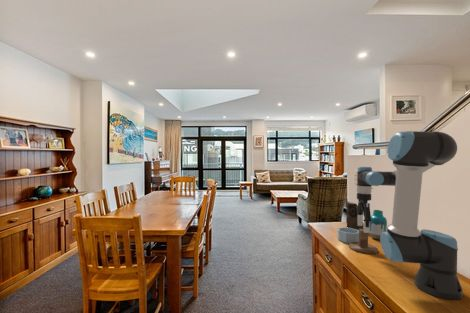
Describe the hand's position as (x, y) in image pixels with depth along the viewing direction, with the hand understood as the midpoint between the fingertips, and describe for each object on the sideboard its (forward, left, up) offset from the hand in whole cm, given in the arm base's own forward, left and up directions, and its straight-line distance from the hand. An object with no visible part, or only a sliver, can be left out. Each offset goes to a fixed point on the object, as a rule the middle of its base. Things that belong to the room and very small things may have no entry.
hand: (363, 229), depth 142 cm
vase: (+24, -15, -12) cm, 31 cm away
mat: (0, 0, -12) cm, 12 cm away
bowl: (+14, +5, -12) cm, 19 cm away
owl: (+47, -7, -12) cm, 49 cm away
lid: (0, 0, -12) cm, 12 cm away
